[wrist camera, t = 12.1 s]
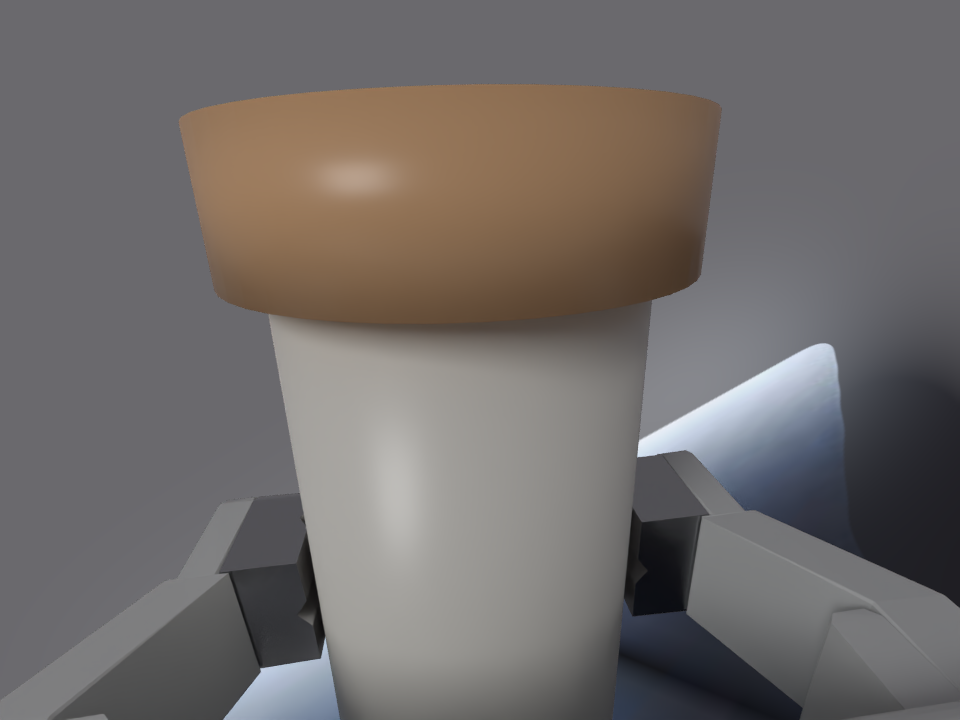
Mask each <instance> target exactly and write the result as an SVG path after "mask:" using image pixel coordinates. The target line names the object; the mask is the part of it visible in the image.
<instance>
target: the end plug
mask: <svg viewBox="0 0 960 720" xmlns="http://www.w3.org/2000/svg"><path fill="white" fill-rule="evenodd" d="M721 111H722V108H721V107H720V105H719V104H717V103H715V102H713V101H711V100H708V99H704V98H700V97H696V96H691V95H685V94H678V93H672V92H665V91H654V90H644V89H633V88H617V87H600V86H599V87H598V86H576V85H575V86H574V85H539V84H534V85H533V84H530V85H529V84H508V85H507V84H479V85H478V84H475V85H434V86H433V85H431V86H405V87H383V88H363V89H350V90H337V91H322V92H309V93H300V94H291V95H280V96H272V97H263V98H257V99H249V100H242V101H235V102H230V103H225V104H220V105H215V106H210V107H206V108H203V109H199V110H196V111H192V112H189V113H188V114H186V115H184V116H182V117H181V118H180V120H179V126H180V131H181V135H182V140H183V145H184V149H185V154H186V159H187V163H188V168H189V173H190V178H191V183H192V187H193V192H194V197H195V201H196V206H197V211H198V216H199V220H200V225H201V229H202V234H203V239H204V244H205V248H206V253H207V258H208V263H209V267H210V272H211V277H212V281H213V286H214V290H215V292H216V293H217V295H218V297H220V298H221V299H223V300H225V301H226V302H228V303H231V304H233V305H236V306H239V307H242V308H245V309H249V310H254V311H258V312H262V313H267V314H268V315H269V321H270V326H271V332H272V337H273V343H274V349H275V355H276V360H277V366H278V371H279V377H280V383H281V389H282V394H283V400H284V405H285V411H286V417H287V422H288V428H289V434H290V439H291V445H292V450H293V456H294V462H295V467H296V473H297V479H298V484H299V489H300V496H301V501H302V507H303V512H304V518H305V524H306V529H307V535H308V541H309V546H310V552H311V558H312V563H313V569H314V574H315V580H316V586H317V591H318V597H319V603H320V608H321V614H322V620H323V625H324V631H325V636H326V642H327V648H328V653H329V659H330V665H331V670H332V676H333V682H334V687H335V693H336V698H337V704H338V710H339V715H340V720H612V717H613V707H614V696H615V686H616V675H617V664H618V654H619V643H620V633H621V622H622V612H623V601H624V590H625V580H626V569H627V559H628V548H629V538H630V527H631V516H632V506H633V495H634V485H635V474H636V464H637V453H638V442H639V432H640V421H641V410H642V400H643V390H644V389H643V388H644V378H645V368H646V358H647V347H648V336H649V326H650V316H651V305H652V300H653V299H657V298H660V297H664V296H667V295H671V294H673V293H675V292H678V291H680V290H682V289H685V288H687V287H689V286H690V285H692V284H693V283H694V282H696V281H697V280H698V278H699V277H700V275H701V268H702V261H703V252H704V245H705V237H706V229H707V221H708V213H709V206H710V198H711V190H712V182H713V174H714V166H715V158H716V150H717V142H718V135H719V127H720V119H721Z"/></svg>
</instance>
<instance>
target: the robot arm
mask: <svg viewBox="0 0 960 720" xmlns="http://www.w3.org/2000/svg"><path fill="white" fill-rule="evenodd" d="M624 599H625V601H626V603H627V606H628V608H629V610H630V612H631V614H632V616H642V615H651V614H661V613H670V612H680V611H687V612H686V614H687V615H689V616H690V617H691V618H692V619H694V620H695V621H696V622H697V623H699V624H700V625H701V626H702V627H703V628H705V629H706V630H707V631H708V632H710V633H711V634H712V635H713V636H715V637H716V638H717V639H718V640H720V641H721V642H722V643H723V644H724V645H726V646H727V647H728V648H729V649H731V650H732V651H733V652H734V653H736V654H737V655H738V656H739V657H741V658H742V659H743V660H744V661H745V662H747V663H748V664H749V665H750V666H752V667H753V668H754V669H755V670H757V671H758V672H759V673H760V674H762V675H763V676H764V677H765V678H766V679H768V680H769V681H770V682H771V683H773V684H774V685H775V686H776V687H778V688H779V689H780V690H781V691H783V692H784V693H785V694H786V695H787V696H789V697H790V698H791V699H792V700H794V701H795V702H796V703H797V704H799V705H800V706H801V707H802V708H803V710H802V713H801V716H800V719H799V720H960V608H959V607H958V606H956V605H955V604H954V603H953V602H952V601H950V600H949V599H948V598H947V597H946V596H944V595H943V594H940V593H938V592H936V591H934V590H931V589H929V588H927V587H925V586H923V585H920V584H918V583H916V582H914V581H911V580H909V579H907V578H905V577H902V576H900V575H898V574H896V573H894V572H891V571H889V570H887V569H885V568H882V567H880V566H878V565H876V564H873V563H871V562H869V561H867V560H865V559H862V558H860V557H858V556H856V555H853V554H851V553H849V552H847V551H845V550H842V549H840V548H838V547H836V546H833V545H831V544H829V543H827V542H824V541H822V540H820V539H818V538H816V537H813V536H811V535H809V534H807V533H804V532H802V531H800V530H798V529H795V528H793V527H791V526H789V525H787V524H784V523H782V522H780V521H778V520H775V519H773V518H771V517H769V516H766V515H764V514H762V513H760V512H757V511H755V510H752V511H745V510H744V509H743V508H742V507H741V506H740V505H739V504H738V503H737V502H736V501H735V499H734V498H733V497H732V496H731V495H730V494H729V493H728V492H727V491H726V490H725V489H724V487H723V486H722V485H721V484H720V483H719V482H718V481H717V480H716V479H715V478H714V477H713V475H712V474H711V473H710V472H709V471H708V470H707V469H706V468H705V467H704V466H703V465H702V463H701V462H700V461H699V460H698V459H697V458H696V457H695V456H694V455H693V454H692V453H690V452H688V451H686V450H685V451H678V452H670V453H663V454H657V455H655V456H646V457H638V458H637V464H636V474H635V485H634V495H633V506H632V516H631V527H630V538H629V548H628V559H627V569H626V580H625V590H624ZM324 640H325V631H324V625H323V620H322V614H321V608H320V603H319V597H318V591H317V586H316V580H315V574H314V569H313V563H312V558H311V552H310V546H309V541H308V535H307V529H306V524H305V518H304V512H303V507H302V501H301V496H300V493H297V494H285V495H273V496H262V497H258V498H257V497H252V498H243V499H233V500H226V501H225V502H223V503H221V504H220V505H219V506H218V508H217V510H216V512H215V513H214V515H213V516H212V518H211V520H210V522H209V523H208V525H207V527H206V529H205V530H204V532H203V534H202V536H201V537H200V539H199V541H198V542H197V544H196V546H195V548H194V549H193V551H192V553H191V555H190V556H189V558H188V560H187V562H186V563H185V565H184V567H183V568H182V571H181V572H180V574H179V575H178V577H177V579H172V580H166V581H164V582H162V583H161V584H160V585H159V586H157V587H156V588H154V589H153V590H151V591H150V592H149V593H147V594H146V595H145V596H143V597H142V598H141V599H139V600H138V601H136V602H135V603H134V604H132V605H131V606H129V607H128V608H127V609H125V610H124V611H122V612H121V613H120V614H118V615H117V616H116V617H114V618H113V619H112V620H110V621H109V622H107V623H106V624H105V625H103V626H102V627H100V628H99V629H98V630H96V631H95V632H94V633H92V634H91V635H90V636H88V637H87V638H85V639H84V640H82V641H81V642H80V643H78V644H77V645H76V646H74V647H73V648H71V649H70V650H69V651H67V652H66V653H64V654H63V655H62V656H61V657H59V658H58V659H56V660H55V661H54V662H52V663H51V664H49V665H48V666H47V667H45V668H44V669H43V670H41V671H40V672H38V673H37V674H35V675H34V676H33V677H31V678H30V679H29V680H27V681H26V682H25V683H23V684H22V685H20V686H19V687H18V688H16V689H15V690H13V691H12V692H11V693H9V694H8V695H6V696H5V697H4V698H2V699H1V700H0V720H223V719H224V718H225V716H226V715H227V714H228V713H229V711H230V710H231V709H232V708H233V706H234V705H235V704H236V702H237V701H238V700H239V699H240V697H241V696H242V695H243V694H244V692H245V691H246V690H247V689H248V687H249V686H250V685H251V684H252V682H253V681H254V680H255V679H256V677H257V676H258V675H259V674H260V672H261V670H260V668H265V667H271V666H278V665H284V664H290V663H296V662H302V661H308V660H314V659H320V658H321V655H322V650H323V645H324Z"/></svg>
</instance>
